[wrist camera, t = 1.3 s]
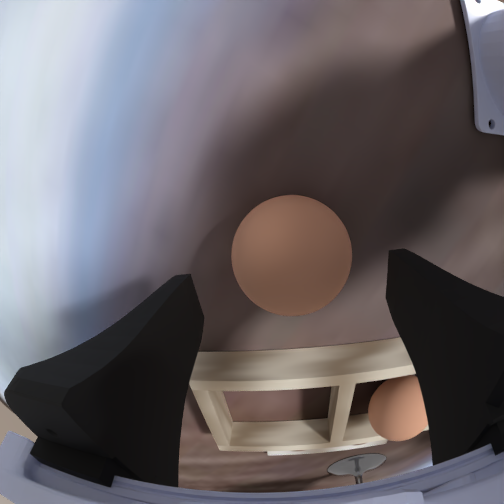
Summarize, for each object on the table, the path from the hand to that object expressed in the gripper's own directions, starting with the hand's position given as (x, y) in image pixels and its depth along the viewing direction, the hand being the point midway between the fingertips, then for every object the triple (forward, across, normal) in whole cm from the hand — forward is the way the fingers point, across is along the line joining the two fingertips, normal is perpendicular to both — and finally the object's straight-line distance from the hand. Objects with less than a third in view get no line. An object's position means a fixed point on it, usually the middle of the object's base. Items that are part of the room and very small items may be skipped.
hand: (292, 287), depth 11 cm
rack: (+5, -2, +16) cm, 17 cm away
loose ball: (+2, 0, 0) cm, 2 cm away
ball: (+2, -7, +13) cm, 15 cm away
